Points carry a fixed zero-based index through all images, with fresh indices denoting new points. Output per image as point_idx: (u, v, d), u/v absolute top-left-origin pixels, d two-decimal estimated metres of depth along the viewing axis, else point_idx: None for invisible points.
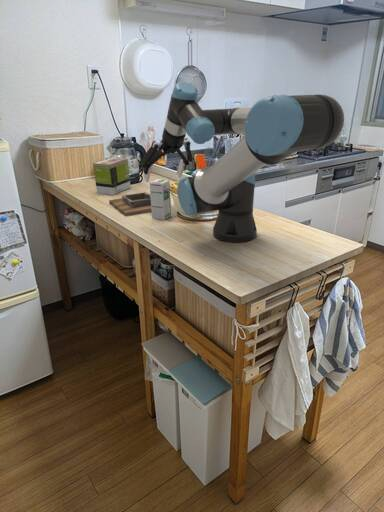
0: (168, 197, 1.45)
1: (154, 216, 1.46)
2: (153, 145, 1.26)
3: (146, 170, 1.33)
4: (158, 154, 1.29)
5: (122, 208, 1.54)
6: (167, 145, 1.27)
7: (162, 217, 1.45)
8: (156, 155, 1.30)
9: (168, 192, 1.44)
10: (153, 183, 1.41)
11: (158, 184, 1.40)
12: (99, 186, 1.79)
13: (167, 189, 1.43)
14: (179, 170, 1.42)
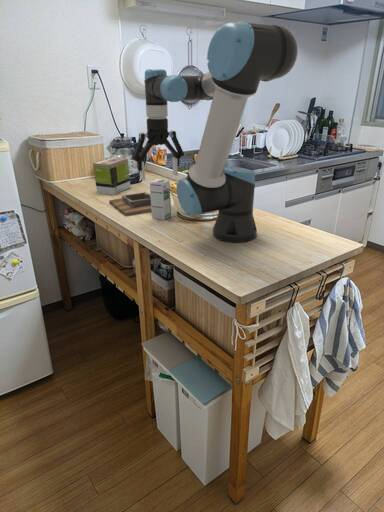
0: (168, 197, 1.45)
1: (154, 216, 1.46)
2: (140, 135, 1.32)
3: (140, 165, 1.36)
4: (147, 146, 1.34)
5: (122, 208, 1.54)
6: (153, 134, 1.33)
7: (162, 217, 1.45)
8: (145, 147, 1.35)
9: (168, 192, 1.44)
10: (153, 183, 1.41)
11: (158, 184, 1.40)
12: (99, 186, 1.79)
13: (167, 189, 1.43)
14: (174, 168, 1.44)
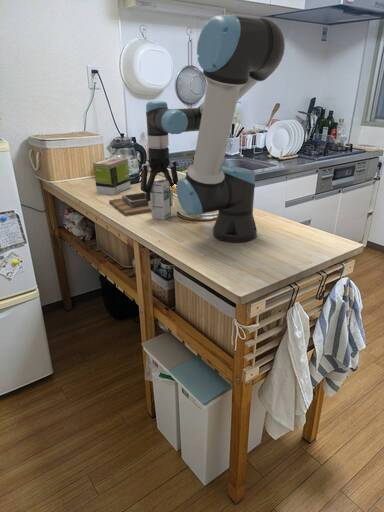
0: (168, 197, 1.45)
1: (154, 216, 1.46)
2: (142, 167, 1.37)
3: (148, 196, 1.42)
4: (151, 176, 1.39)
5: (122, 208, 1.54)
6: (154, 162, 1.37)
7: (162, 217, 1.45)
8: (150, 178, 1.40)
9: (168, 192, 1.44)
10: (153, 183, 1.41)
11: (158, 184, 1.40)
12: (99, 186, 1.79)
13: (167, 189, 1.43)
14: None
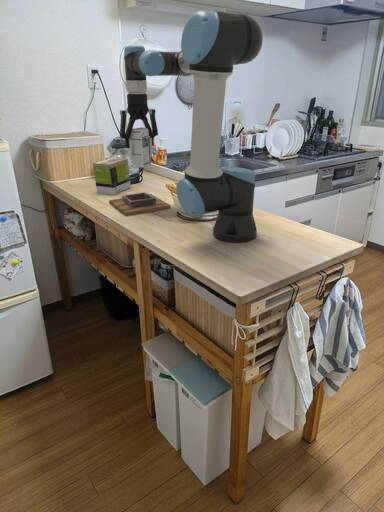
0: (147, 145, 1.48)
1: (133, 164, 1.49)
2: (121, 113, 1.40)
3: (127, 143, 1.44)
4: (130, 122, 1.42)
5: (122, 208, 1.54)
6: (133, 108, 1.40)
7: (141, 164, 1.48)
8: (129, 124, 1.42)
9: (147, 140, 1.47)
10: (132, 129, 1.43)
11: (137, 131, 1.43)
12: (99, 186, 1.79)
13: (146, 136, 1.46)
14: None
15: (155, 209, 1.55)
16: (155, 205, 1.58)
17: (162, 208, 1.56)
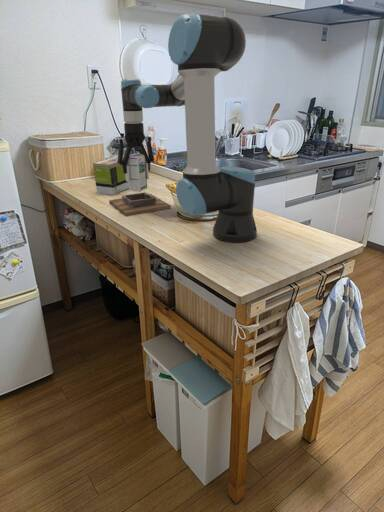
0: (144, 170, 1.55)
1: (131, 188, 1.57)
2: (118, 141, 1.47)
3: (125, 169, 1.52)
4: (127, 149, 1.49)
5: (122, 208, 1.54)
6: (130, 136, 1.47)
7: (138, 189, 1.55)
8: (126, 151, 1.50)
9: (144, 165, 1.55)
10: (129, 156, 1.51)
11: (134, 157, 1.50)
12: (99, 186, 1.79)
13: (143, 162, 1.54)
14: None
15: (155, 209, 1.55)
16: (155, 205, 1.58)
17: (162, 208, 1.56)
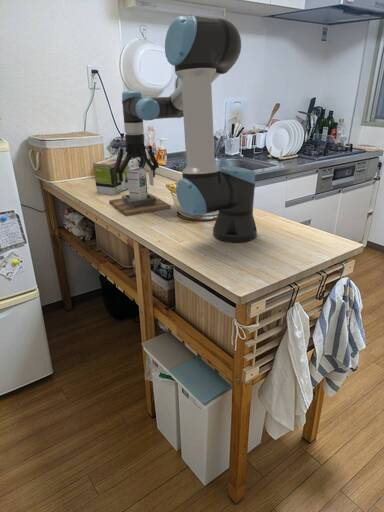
0: (144, 184, 1.57)
1: None
2: (119, 150, 1.48)
3: (120, 177, 1.52)
4: (126, 159, 1.51)
5: (122, 208, 1.54)
6: (131, 148, 1.49)
7: None
8: (125, 160, 1.51)
9: (144, 179, 1.57)
10: (130, 170, 1.53)
11: (134, 172, 1.52)
12: (99, 186, 1.79)
13: (143, 176, 1.56)
14: (150, 179, 1.60)
15: (155, 209, 1.55)
16: (155, 205, 1.58)
17: (162, 208, 1.56)
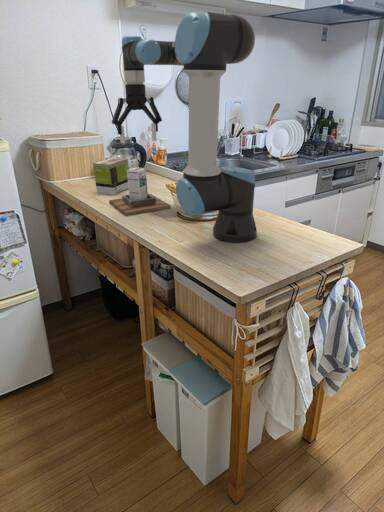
0: (144, 184, 1.57)
1: None
2: (119, 100, 1.41)
3: (119, 129, 1.44)
4: (126, 110, 1.43)
5: (122, 208, 1.54)
6: (131, 99, 1.42)
7: None
8: (125, 112, 1.43)
9: (144, 179, 1.57)
10: (130, 170, 1.53)
11: (134, 172, 1.52)
12: (99, 186, 1.79)
13: (143, 176, 1.56)
14: (153, 134, 1.52)
15: (155, 209, 1.55)
16: (155, 205, 1.58)
17: (162, 208, 1.56)
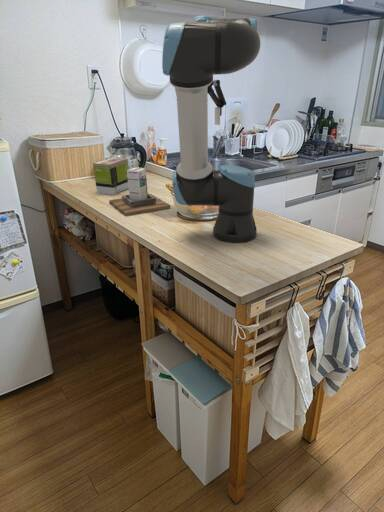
0: (144, 184, 1.57)
1: None
2: None
3: None
4: None
5: (122, 208, 1.54)
6: None
7: None
8: None
9: (144, 179, 1.57)
10: (130, 170, 1.53)
11: (134, 172, 1.52)
12: (99, 186, 1.79)
13: (143, 176, 1.56)
14: (216, 118, 1.50)
15: (155, 209, 1.55)
16: (155, 205, 1.58)
17: (162, 208, 1.56)
